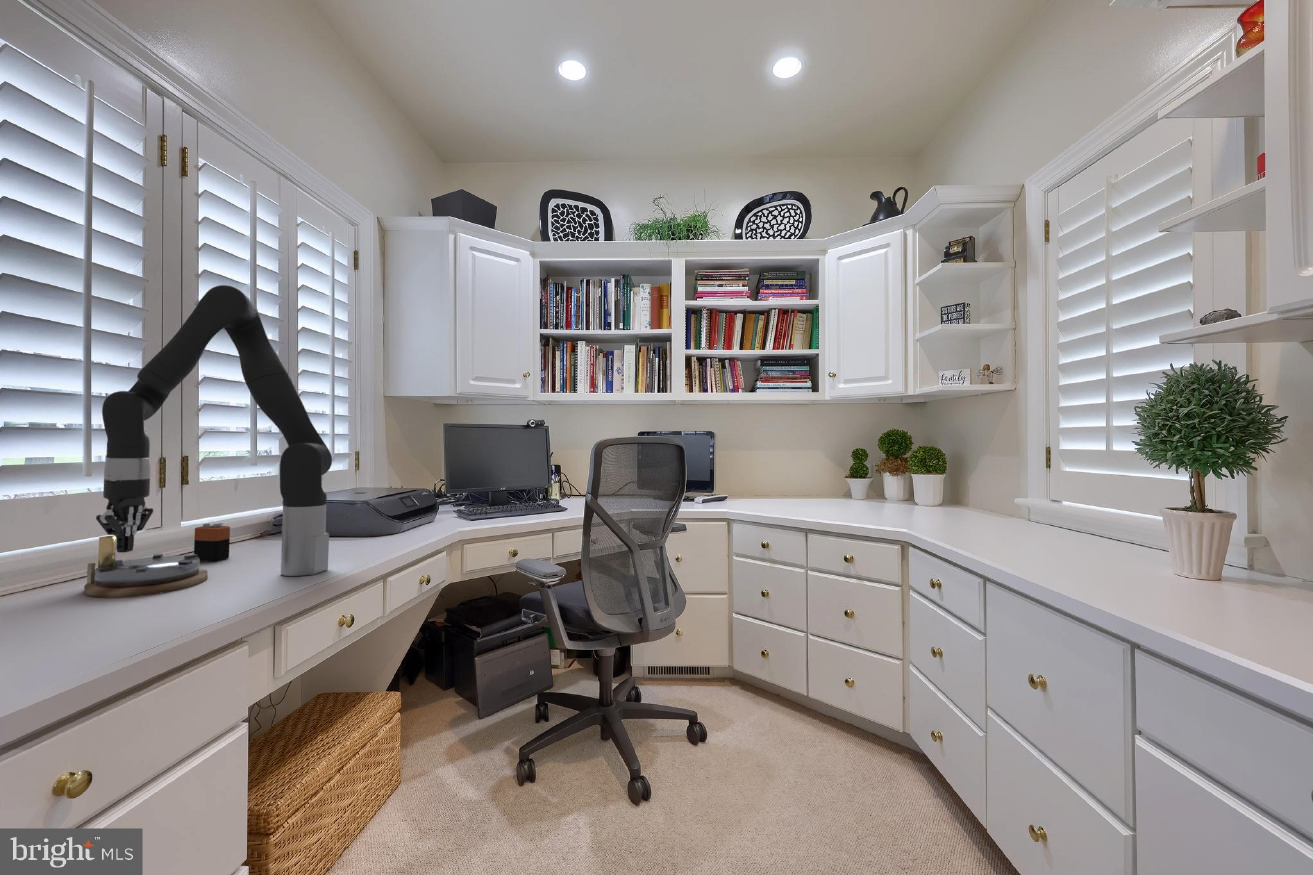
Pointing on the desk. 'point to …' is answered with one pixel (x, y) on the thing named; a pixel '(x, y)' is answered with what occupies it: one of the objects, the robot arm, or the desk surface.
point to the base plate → (115, 592)
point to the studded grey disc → (140, 567)
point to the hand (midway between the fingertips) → (124, 551)
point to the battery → (212, 542)
